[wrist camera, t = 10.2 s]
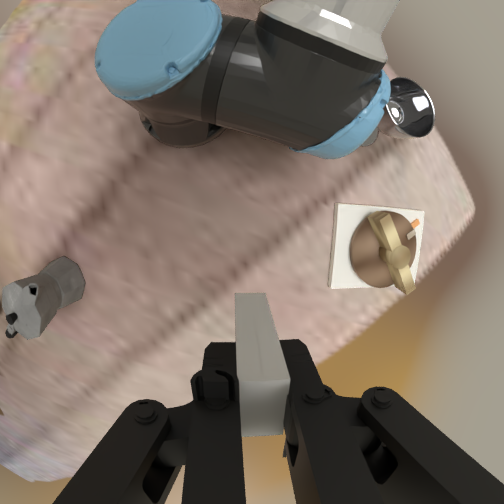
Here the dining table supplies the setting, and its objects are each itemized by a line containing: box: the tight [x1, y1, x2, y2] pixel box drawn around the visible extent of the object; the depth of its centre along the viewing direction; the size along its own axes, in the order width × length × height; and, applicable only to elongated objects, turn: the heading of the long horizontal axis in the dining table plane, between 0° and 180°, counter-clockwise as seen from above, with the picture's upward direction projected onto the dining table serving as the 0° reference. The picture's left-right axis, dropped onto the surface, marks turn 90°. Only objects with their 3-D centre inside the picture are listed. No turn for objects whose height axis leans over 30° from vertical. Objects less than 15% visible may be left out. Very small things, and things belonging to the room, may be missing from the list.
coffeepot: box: [2, 256, 85, 340], centre depth 33 cm, size 15×9×18 cm, turn 130°
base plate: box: [328, 203, 424, 289], centre depth 43 cm, size 14×18×2 cm
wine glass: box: [361, 77, 435, 146], centre depth 32 cm, size 8×8×15 cm
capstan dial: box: [350, 210, 417, 295], centre depth 40 cm, size 14×13×6 cm
